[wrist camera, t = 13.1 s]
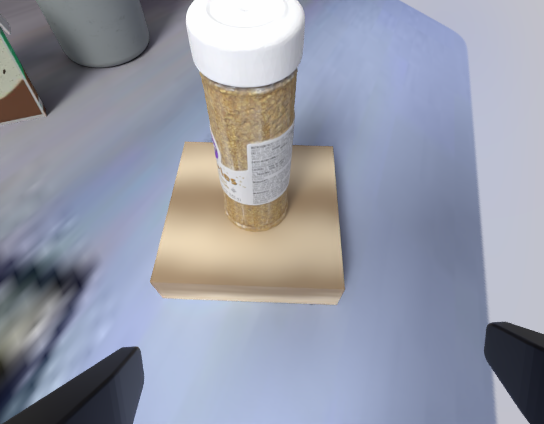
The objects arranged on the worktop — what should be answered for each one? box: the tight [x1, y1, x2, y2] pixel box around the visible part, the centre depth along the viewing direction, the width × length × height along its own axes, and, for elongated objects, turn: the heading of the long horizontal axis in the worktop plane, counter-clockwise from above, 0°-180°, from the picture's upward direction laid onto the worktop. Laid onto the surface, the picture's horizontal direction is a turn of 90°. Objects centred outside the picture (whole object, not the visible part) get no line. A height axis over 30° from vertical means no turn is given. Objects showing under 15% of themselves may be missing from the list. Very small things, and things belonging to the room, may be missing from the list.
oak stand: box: [150, 142, 345, 305], centre depth 25 cm, size 12×12×3 cm
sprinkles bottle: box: [186, 0, 305, 232], centre depth 18 cm, size 5×5×14 cm
